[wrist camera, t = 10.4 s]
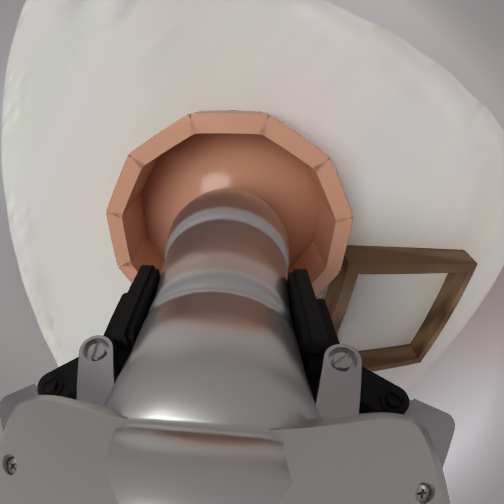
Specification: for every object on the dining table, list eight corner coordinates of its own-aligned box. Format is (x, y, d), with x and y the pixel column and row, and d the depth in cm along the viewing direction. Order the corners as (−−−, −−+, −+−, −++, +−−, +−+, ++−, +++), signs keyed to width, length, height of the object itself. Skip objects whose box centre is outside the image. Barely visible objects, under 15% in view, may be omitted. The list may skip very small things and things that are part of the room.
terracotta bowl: (311, 289, 23) (323, 328, 19) (149, 285, 22) (134, 323, 18) (340, 119, 16) (368, 127, 12) (127, 116, 15) (95, 123, 11)
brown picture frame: (413, 347, 29) (420, 362, 27) (306, 360, 29) (310, 378, 26) (464, 250, 21) (477, 263, 19) (339, 245, 21) (349, 262, 19)
